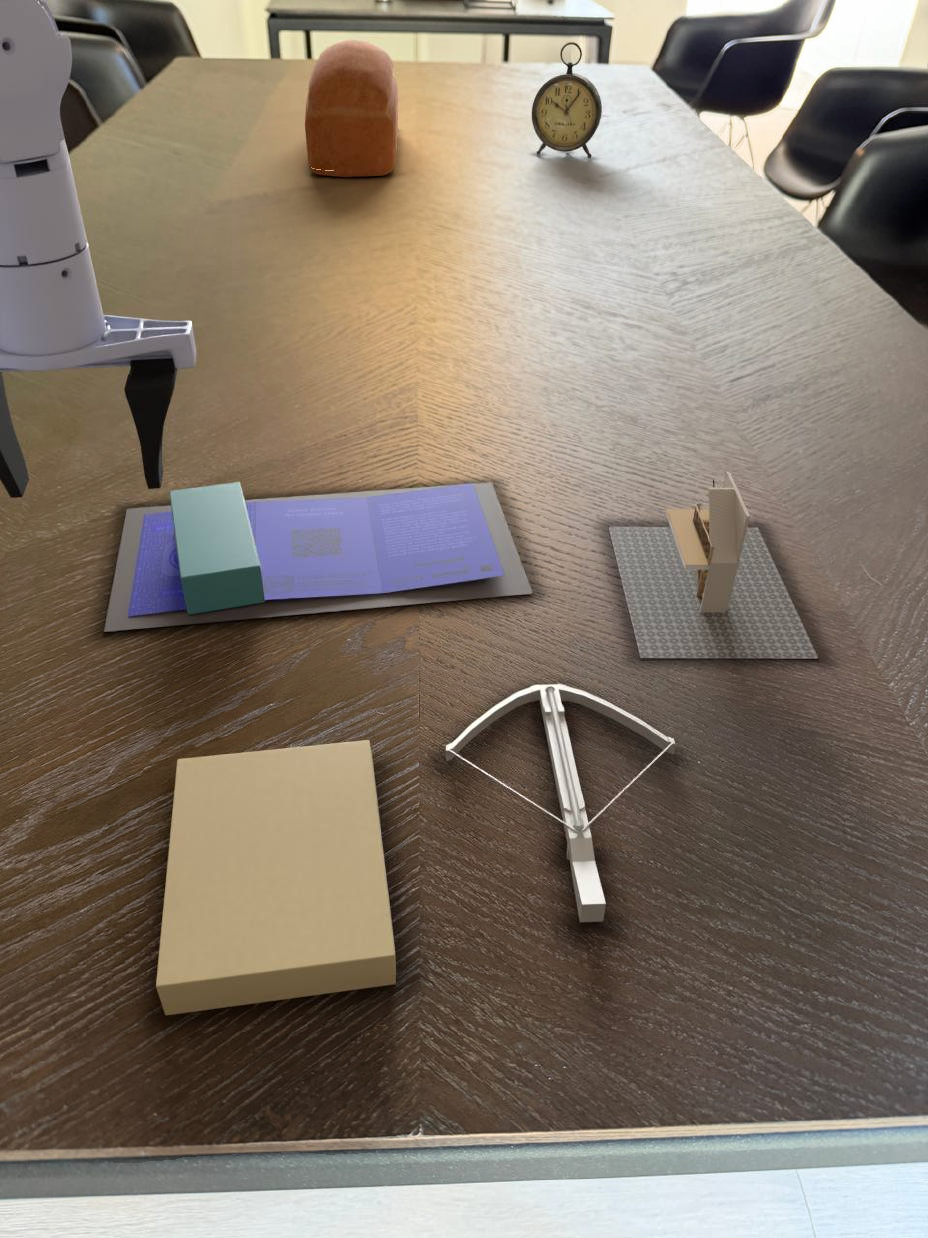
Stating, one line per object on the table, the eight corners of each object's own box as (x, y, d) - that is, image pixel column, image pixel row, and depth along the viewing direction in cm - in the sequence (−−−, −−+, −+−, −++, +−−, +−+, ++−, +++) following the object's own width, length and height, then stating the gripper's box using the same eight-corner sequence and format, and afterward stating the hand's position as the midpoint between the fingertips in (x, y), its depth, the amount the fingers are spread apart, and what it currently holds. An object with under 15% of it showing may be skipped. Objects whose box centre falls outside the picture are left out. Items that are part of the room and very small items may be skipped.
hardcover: (165, 1018, 42) (155, 986, 40) (184, 791, 52) (177, 758, 50) (397, 986, 43) (395, 955, 42) (372, 771, 53) (370, 739, 52)
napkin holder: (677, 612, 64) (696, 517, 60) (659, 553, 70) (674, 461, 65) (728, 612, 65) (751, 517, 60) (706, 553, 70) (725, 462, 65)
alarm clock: (528, 156, 159) (535, 42, 149) (534, 148, 163) (540, 37, 153) (595, 161, 157) (606, 46, 147) (598, 153, 161) (609, 41, 151)
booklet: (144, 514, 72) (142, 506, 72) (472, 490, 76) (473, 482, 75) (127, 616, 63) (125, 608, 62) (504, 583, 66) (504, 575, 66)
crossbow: (441, 707, 58) (441, 680, 57) (649, 701, 59) (653, 674, 58) (456, 929, 45) (456, 900, 44) (723, 918, 46) (731, 889, 44)
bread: (305, 177, 146) (296, 60, 137) (321, 128, 172) (314, 25, 162) (396, 178, 147) (394, 61, 137) (399, 128, 172) (397, 27, 163)
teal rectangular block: (187, 615, 63) (180, 578, 61) (176, 525, 71) (168, 490, 69) (266, 602, 64) (261, 565, 62) (245, 515, 72) (240, 481, 70)
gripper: (182, 219, 52) (217, 444, 61) (-104, 227, 50) (-27, 458, 59) (172, 263, 47) (212, 503, 55) (-149, 274, 45) (-56, 521, 53)
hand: (88, 484), depth 57 cm, fingers open, 7 cm apart
